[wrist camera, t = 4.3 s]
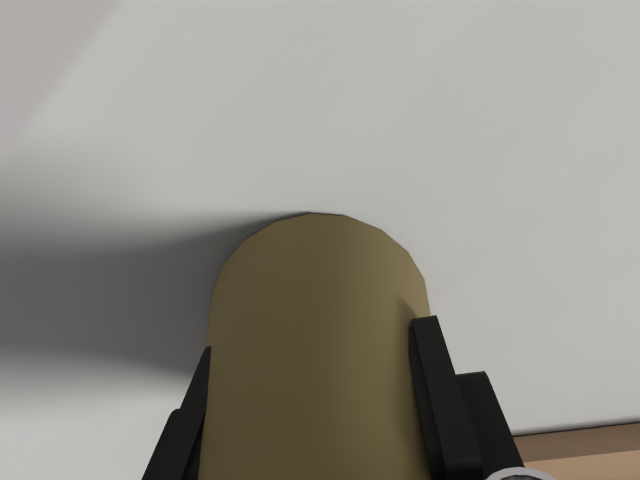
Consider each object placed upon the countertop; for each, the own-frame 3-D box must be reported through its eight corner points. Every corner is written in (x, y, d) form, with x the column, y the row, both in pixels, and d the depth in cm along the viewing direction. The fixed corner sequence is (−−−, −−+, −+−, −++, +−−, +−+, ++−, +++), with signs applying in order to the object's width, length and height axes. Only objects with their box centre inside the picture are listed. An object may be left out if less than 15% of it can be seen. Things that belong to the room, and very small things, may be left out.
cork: (430, 205, 13) (795, 797, 3) (429, 398, 16) (637, 1105, 5) (193, 221, 13) (-202, 837, 3) (227, 410, 16) (56, 1120, 6)
